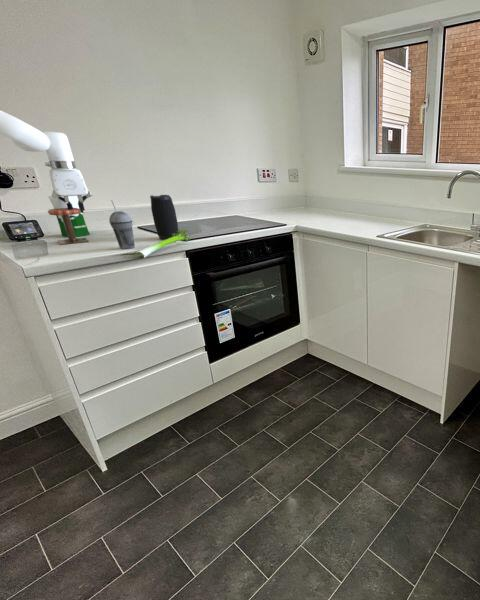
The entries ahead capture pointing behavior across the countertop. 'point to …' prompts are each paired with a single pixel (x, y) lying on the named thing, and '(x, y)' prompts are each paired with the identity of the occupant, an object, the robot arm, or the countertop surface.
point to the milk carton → (71, 216)
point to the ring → (64, 211)
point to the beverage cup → (122, 229)
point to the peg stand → (70, 232)
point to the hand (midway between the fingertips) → (77, 212)
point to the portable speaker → (164, 216)
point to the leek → (164, 243)
